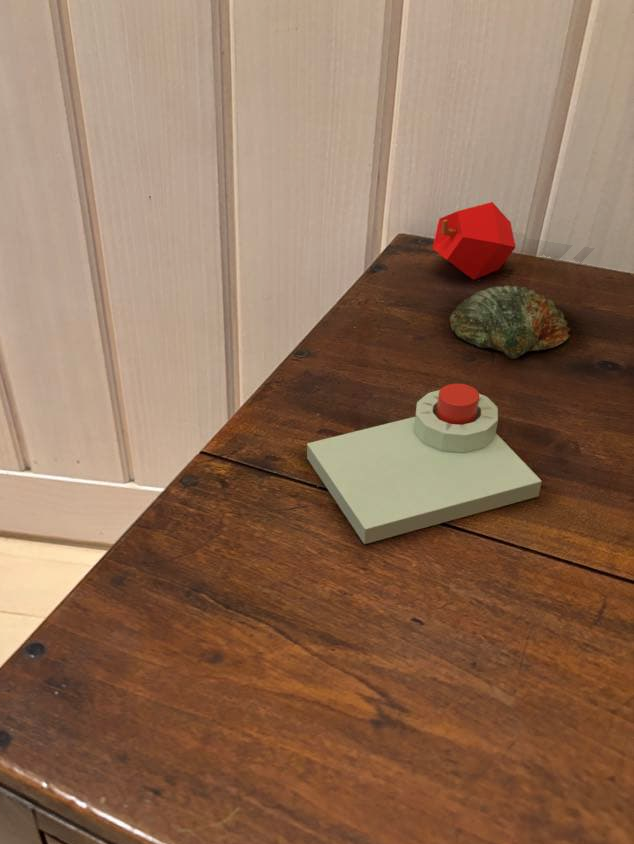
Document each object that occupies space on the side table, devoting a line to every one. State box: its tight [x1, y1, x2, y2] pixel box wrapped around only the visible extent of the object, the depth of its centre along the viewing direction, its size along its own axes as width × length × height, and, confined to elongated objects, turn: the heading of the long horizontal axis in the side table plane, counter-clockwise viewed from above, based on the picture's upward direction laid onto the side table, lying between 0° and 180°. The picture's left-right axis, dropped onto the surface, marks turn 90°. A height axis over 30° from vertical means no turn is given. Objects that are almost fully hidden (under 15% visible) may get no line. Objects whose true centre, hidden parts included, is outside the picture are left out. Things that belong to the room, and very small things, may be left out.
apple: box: [432, 201, 516, 281], centre depth 86 cm, size 7×7×8 cm
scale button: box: [436, 383, 480, 425], centre depth 65 cm, size 3×3×2 cm
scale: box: [306, 389, 543, 545], centre depth 64 cm, size 13×10×3 cm
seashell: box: [449, 285, 571, 360], centre depth 78 cm, size 10×4×10 cm
